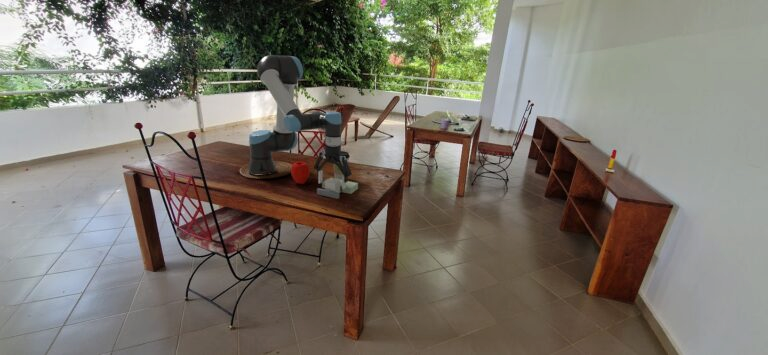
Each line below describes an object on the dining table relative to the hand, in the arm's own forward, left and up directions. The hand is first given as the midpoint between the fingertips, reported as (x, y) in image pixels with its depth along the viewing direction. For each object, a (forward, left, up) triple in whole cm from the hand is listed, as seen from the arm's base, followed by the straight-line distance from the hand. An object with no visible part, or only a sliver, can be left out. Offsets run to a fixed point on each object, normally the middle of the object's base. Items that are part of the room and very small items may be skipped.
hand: (332, 185), depth 166 cm
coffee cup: (-7, +21, -4) cm, 22 cm away
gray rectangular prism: (+1, 0, -4) cm, 4 cm away
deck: (0, +3, -4) cm, 5 cm away
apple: (-22, +4, -4) cm, 22 cm away
